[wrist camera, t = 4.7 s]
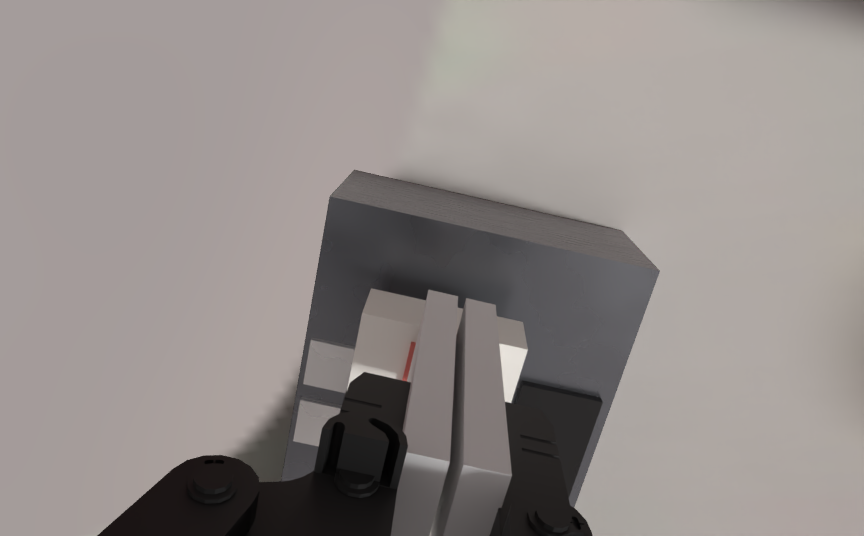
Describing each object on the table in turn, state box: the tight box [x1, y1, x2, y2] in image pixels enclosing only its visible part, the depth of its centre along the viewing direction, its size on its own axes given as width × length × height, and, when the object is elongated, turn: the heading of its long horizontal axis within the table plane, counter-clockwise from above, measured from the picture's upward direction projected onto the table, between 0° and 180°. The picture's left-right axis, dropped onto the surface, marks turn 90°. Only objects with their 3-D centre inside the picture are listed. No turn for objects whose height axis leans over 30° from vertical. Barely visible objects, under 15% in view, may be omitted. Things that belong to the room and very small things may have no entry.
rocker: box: [347, 288, 528, 536], centre depth 19 cm, size 4×9×2 cm, turn 167°
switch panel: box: [281, 170, 660, 508], centre depth 24 cm, size 10×26×5 cm, turn 168°
